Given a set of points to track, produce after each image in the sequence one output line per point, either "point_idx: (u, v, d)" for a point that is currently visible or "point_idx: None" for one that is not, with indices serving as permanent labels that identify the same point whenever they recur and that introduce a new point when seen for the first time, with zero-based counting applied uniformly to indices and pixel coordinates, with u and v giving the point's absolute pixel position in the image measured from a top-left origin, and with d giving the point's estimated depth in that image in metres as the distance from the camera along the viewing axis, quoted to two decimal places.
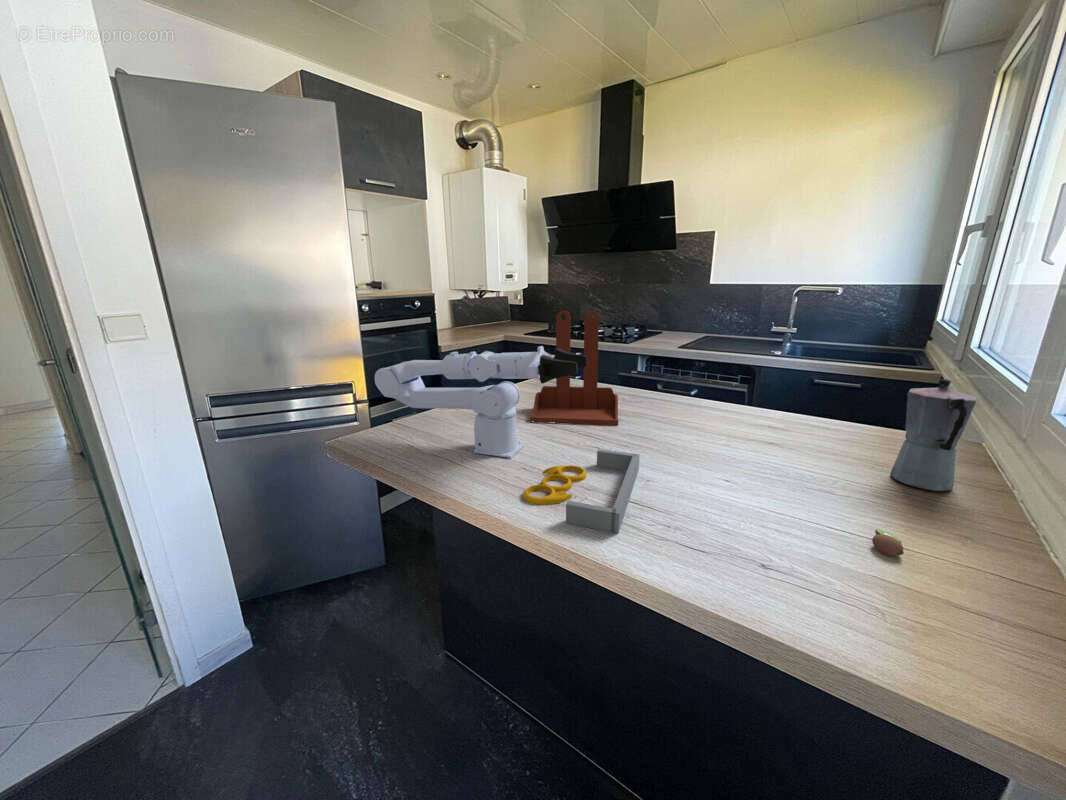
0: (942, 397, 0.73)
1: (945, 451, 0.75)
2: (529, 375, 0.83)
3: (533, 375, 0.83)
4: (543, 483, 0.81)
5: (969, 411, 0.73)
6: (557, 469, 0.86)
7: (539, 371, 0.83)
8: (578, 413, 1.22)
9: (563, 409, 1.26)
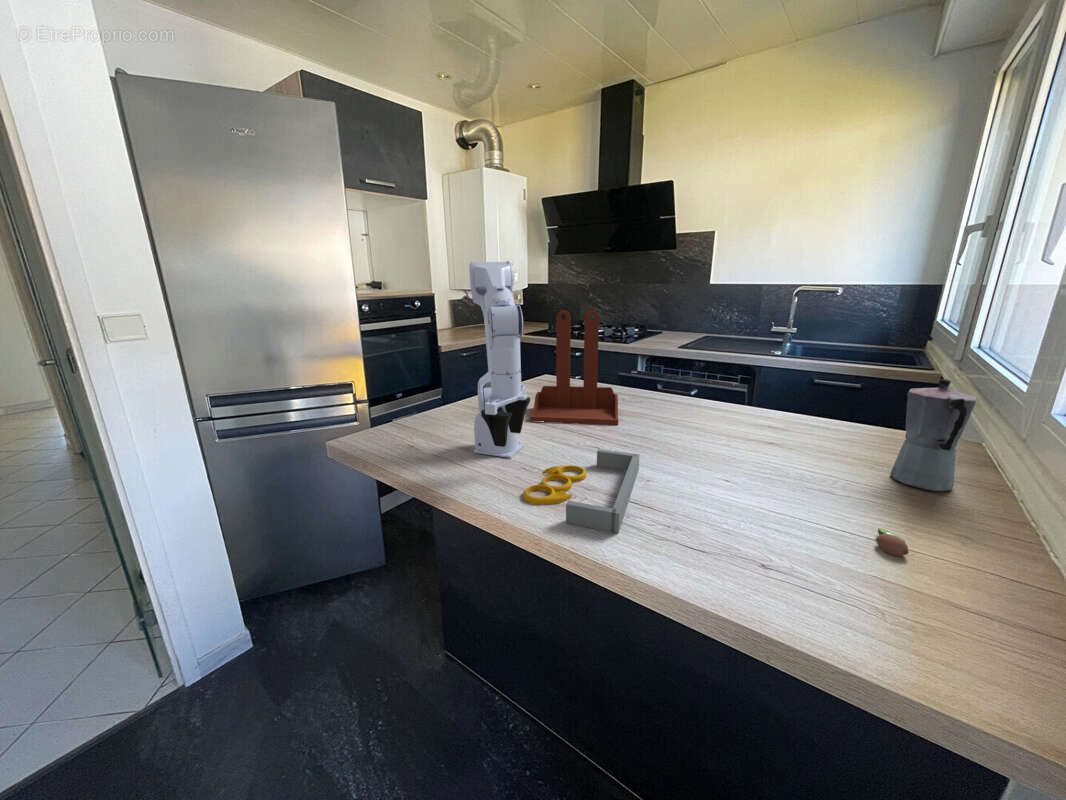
0: (942, 397, 0.73)
1: (945, 451, 0.75)
2: (485, 405, 0.74)
3: (486, 410, 0.74)
4: (543, 483, 0.81)
5: (969, 411, 0.73)
6: (557, 469, 0.86)
7: None
8: (578, 413, 1.22)
9: (563, 409, 1.26)
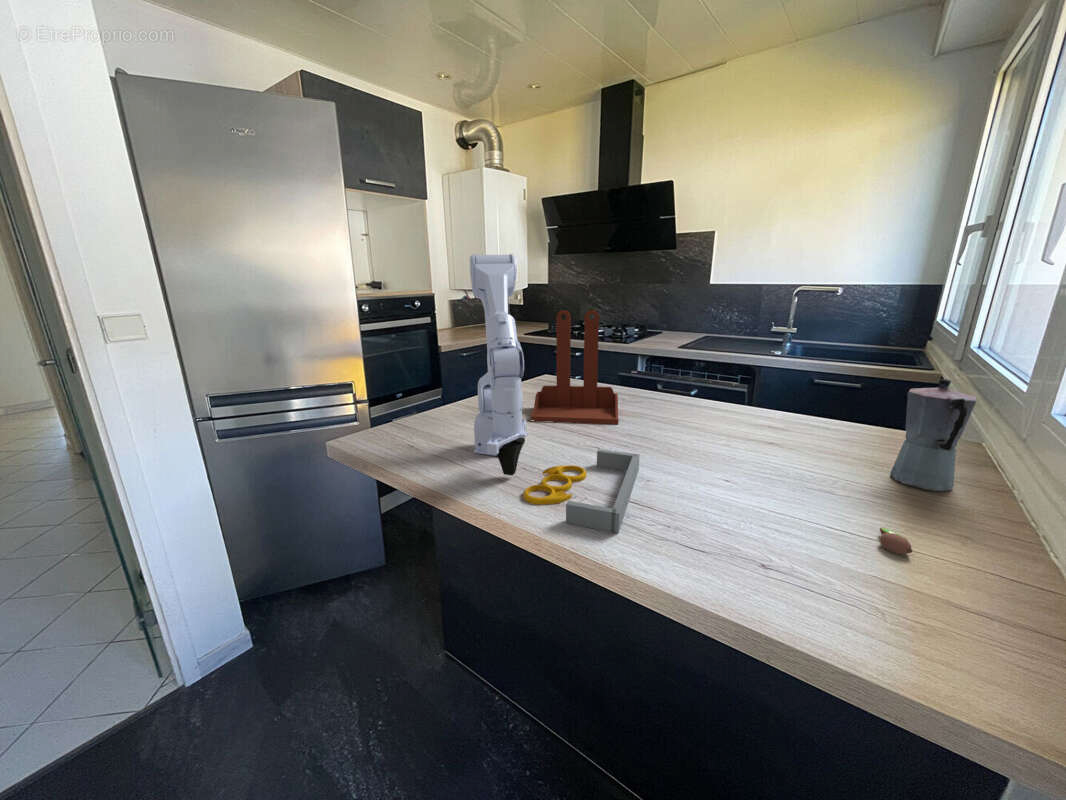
0: (942, 397, 0.73)
1: (945, 451, 0.75)
2: (487, 445, 0.76)
3: (488, 449, 0.76)
4: (543, 483, 0.81)
5: (969, 411, 0.73)
6: (557, 469, 0.86)
7: None
8: (579, 412, 1.22)
9: (563, 408, 1.27)
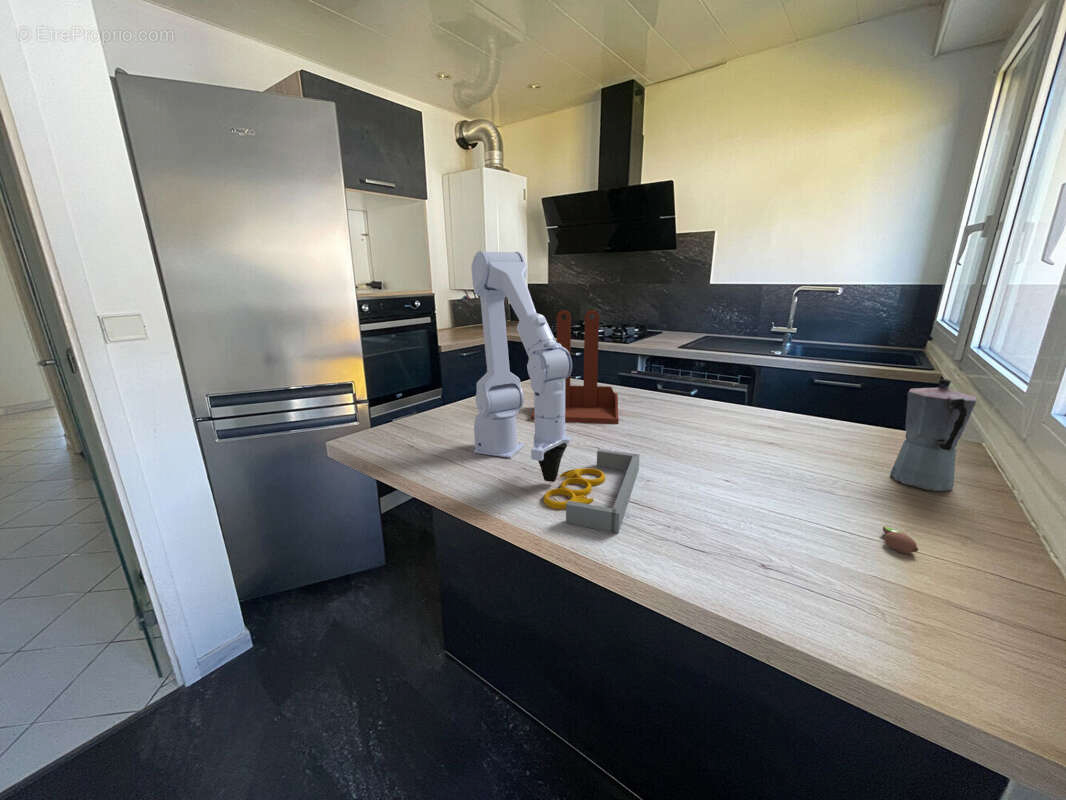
0: (942, 397, 0.73)
1: (945, 451, 0.75)
2: (532, 451, 0.73)
3: (532, 456, 0.73)
4: (562, 487, 0.79)
5: (969, 411, 0.73)
6: (575, 472, 0.84)
7: None
8: (579, 412, 1.23)
9: None
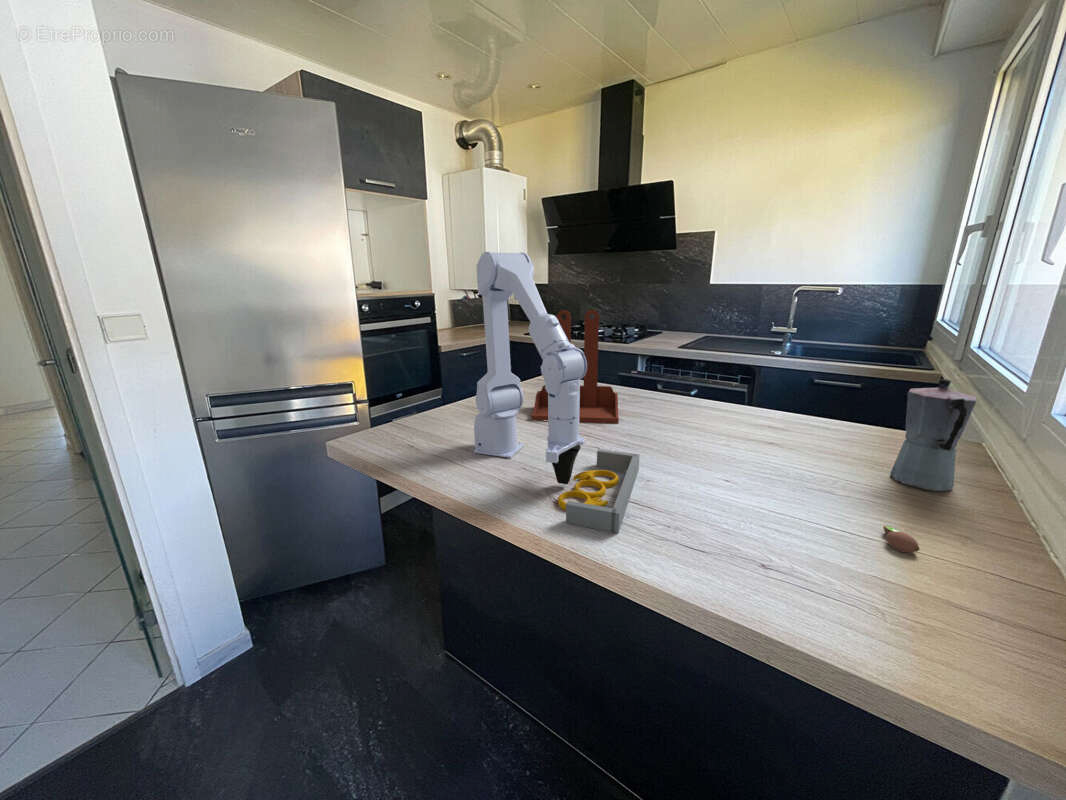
0: (942, 397, 0.73)
1: (945, 451, 0.75)
2: (547, 453, 0.72)
3: (547, 458, 0.72)
4: (576, 489, 0.78)
5: (969, 411, 0.73)
6: (588, 474, 0.83)
7: None
8: (579, 411, 1.23)
9: None
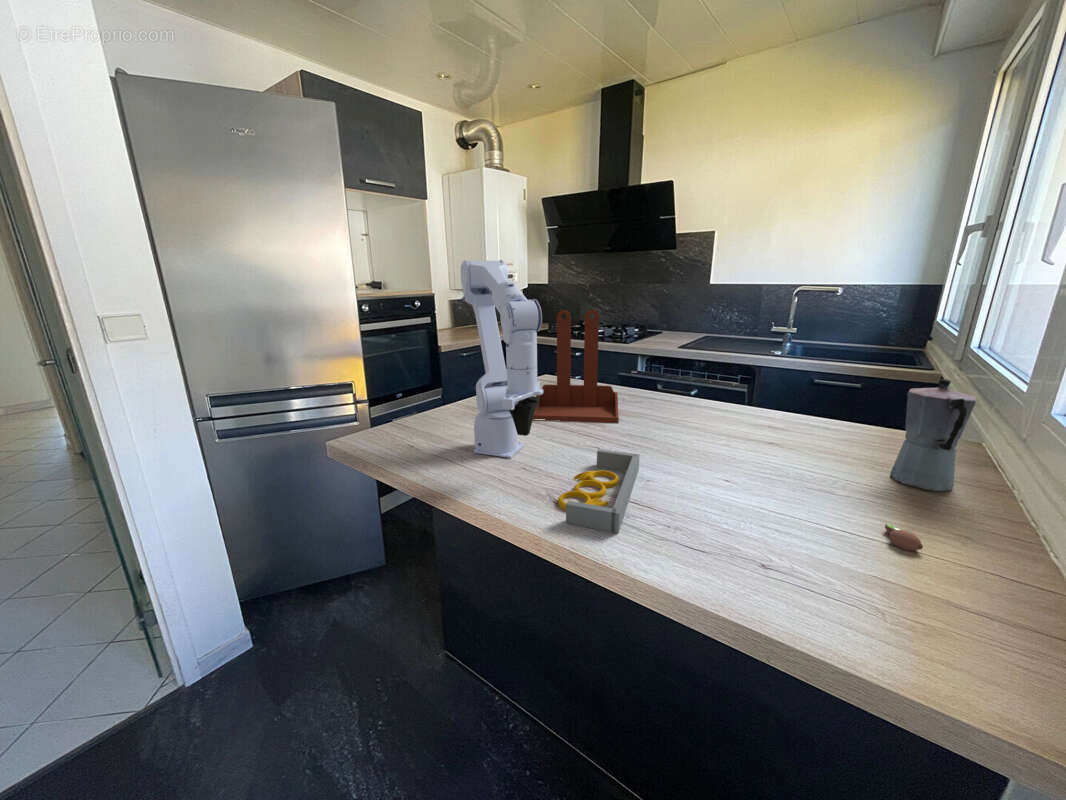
0: (942, 397, 0.73)
1: (945, 451, 0.75)
2: (503, 400, 0.74)
3: (503, 405, 0.74)
4: (577, 489, 0.78)
5: (969, 411, 0.73)
6: (588, 474, 0.83)
7: None
8: (579, 411, 1.24)
9: (564, 407, 1.28)
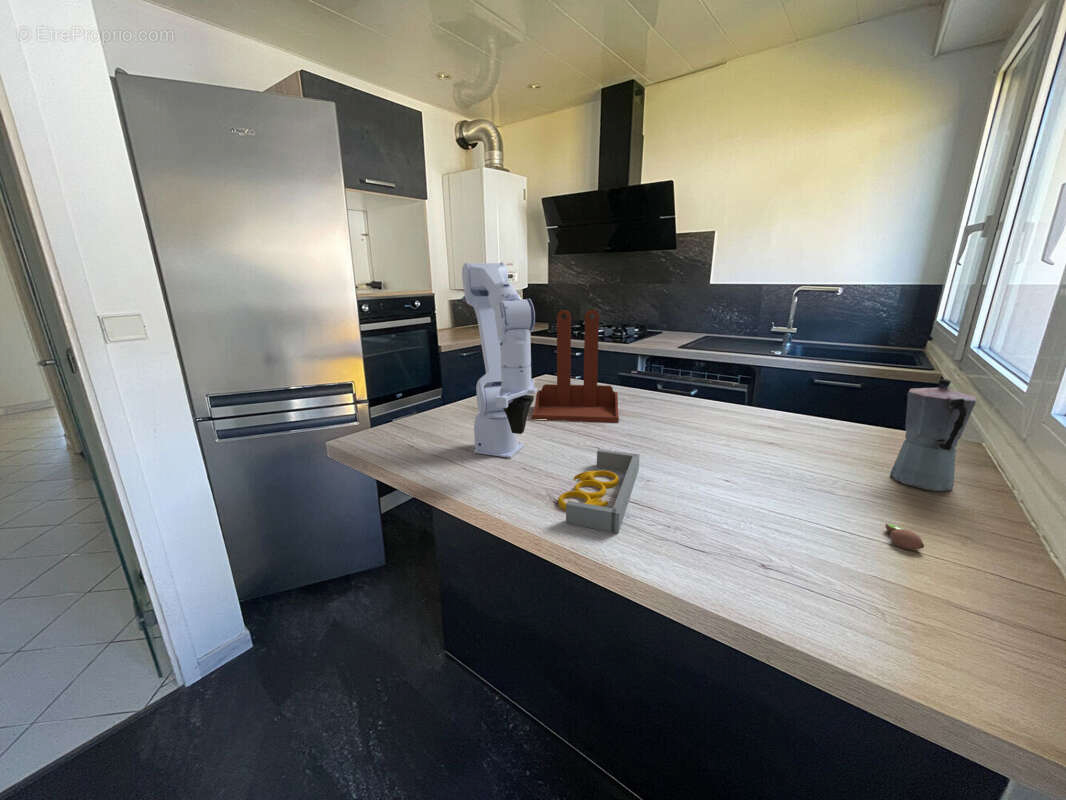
0: (942, 397, 0.73)
1: (945, 451, 0.75)
2: (496, 399, 0.75)
3: (497, 403, 0.75)
4: (577, 489, 0.78)
5: (969, 411, 0.73)
6: (588, 474, 0.83)
7: None
8: (579, 411, 1.24)
9: (564, 407, 1.28)
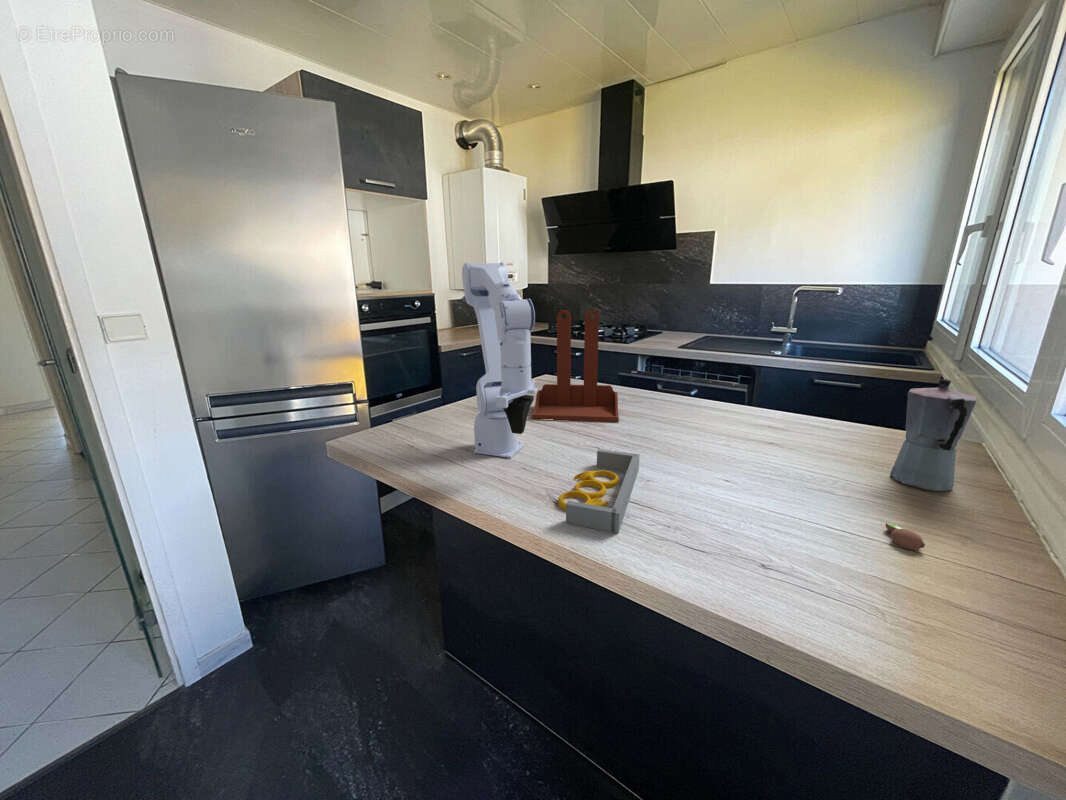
0: (942, 397, 0.73)
1: (945, 451, 0.75)
2: (496, 399, 0.75)
3: (497, 403, 0.75)
4: (577, 489, 0.78)
5: (969, 411, 0.73)
6: (588, 474, 0.83)
7: None
8: (579, 410, 1.24)
9: (564, 407, 1.28)
